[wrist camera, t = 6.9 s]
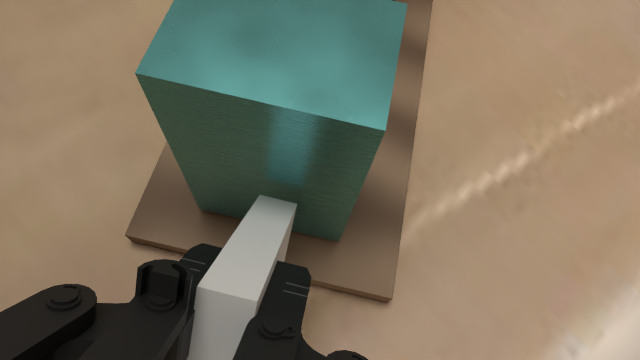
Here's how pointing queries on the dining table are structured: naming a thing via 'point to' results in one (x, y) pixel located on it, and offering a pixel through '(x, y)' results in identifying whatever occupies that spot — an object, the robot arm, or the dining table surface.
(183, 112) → the shaft
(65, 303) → the robot arm
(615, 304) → the dining table surface
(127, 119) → the dining table surface
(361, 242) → the walnut board
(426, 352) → the dining table surface
